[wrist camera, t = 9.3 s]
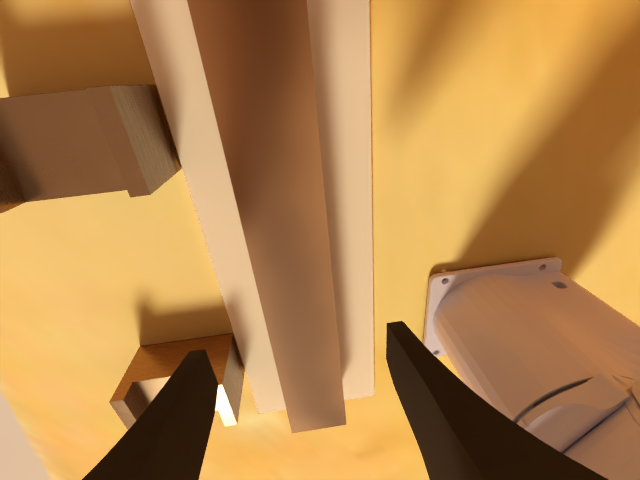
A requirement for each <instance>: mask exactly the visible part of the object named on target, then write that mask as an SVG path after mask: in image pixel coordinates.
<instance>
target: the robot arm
mask: <svg viewBox="0 0 640 480" xmlns="http://www.w3.org/2000/svg"><path fill="white" fill-rule="evenodd" d="M562 264H563V262H562V260H561V259H559V258H557V257H551V258H544V259H537V260H529V261H522V262H515V263H508V264H501V265H493V266H486V267H479V268H472V269H465V270H458V271H450V272H443V273H436V274H433V275H432V276H431V277H430V279H429V285H428V295H427V306H426V316H425V327H424V337H423V343H422V342H421V341H420V340H419V339H418V338H417V337H416V336H415V335H414V333H413V332H412V331H411V330H410V329H409V328H408V327H407V325H406V324H405V323H404V322H402V321H399V322H392V323H387V348H386V360H387V363H388V367H389V370H390V374H391V377H392V380H393V384H394V386H395V389H396V391H397V394H398V396H399V399H400V401H401V404H402V406H403V409H404V411H405V413H406V416H407V418H408V421H409V423H410V426H411V428H412V430H413V433H414V435H415V438H416V440H417V443H418V445H419V448H420V451H421V453H422V456H423V459H424V462H425V466H426V469H427V472H428V475H429V478H430V480H640V327H639V326H638V325H637V324H635V323H634V322H632V321H631V320H629V319H628V318H627V317H625V316H624V315H622V314H621V313H619V312H618V311H616V310H615V309H613V308H612V307H611V306H609V305H608V304H606V303H605V302H603V301H602V300H600V299H599V298H598V297H596V296H595V295H593V294H592V293H590V292H589V291H587V290H586V289H584V288H583V287H582V286H580V285H579V284H577V283H576V282H574V281H573V280H571V279H570V278H568V277H567V276H566V275H564V274H563V273H561V272H560V270H561V267H562ZM444 278H446V279H445V280H444V281H442V280H443V279H444ZM443 355H447V356H448V357H449V359H450V361H451V362H452V364H453V366H454V367H455V369H456V371H457V372H458V374H459V376H460V378H461V379H462V381H463V382H462V381H461V380H460V379H459V378H458V377H456V376H455V375H454V374H453V373H452V372H451V371H450V370H449V369H448V368H447V367H446V366H445V365H444V364H443V363H442V362H440V361H439V360H438V359H437V358H436V356H443ZM217 392H218V381H217V379H216V376H215V373H214V371H213V368H212V366H211V363H210V360H209V358H208V355H207V353H206V350H205V349H202V350H195V351H189V352H188V354H187V355H186V356H185V358H184V359H183V360H182V362H181V363H180V364H179V366H178V367H177V369H176V370H175V371H174V373H173V374H172V375H171V377H170V378H169V379H168V381H167V382H166V383H165V385H164V386H163V387H162V389H161V390H160V391H159V393H158V394H157V395H156V397H155V398H154V399H153V400H152V402H151V403H150V404H149V406H148V407H147V408H146V409H145V411H144V412H143V413H142V414H141V415H140V417H139V418H138V419H137V420H136V421H135V423H134V424H133V425H132V426H131V428H130V429H129V430H128V431H127V432H126V433H125V435H124V436H123V437H122V438H121V439H120V440H119V441H118V443H117V444H116V445H115V446H114V447H113V448H112V449H111V450H110V451H109V452H108V454H107V455H106V456H105V457H104V458H103V459H102V460H101V461H100V462H99V463H98V464H97V465H96V466H95V467H94V468H93V469H92V470H91V471H90V472H89V473H88V474H87V475H86V476H85V477H84V478H83V479H82V480H198V479H199V475H200V471H201V467H202V463H203V459H204V455H205V451H206V447H207V442H208V438H209V434H210V430H211V426H212V422H213V418H214V413H215V408H216V400H217Z"/></svg>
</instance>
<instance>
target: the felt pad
mask: <svg viewBox="0 0 640 480" xmlns="http://www.w3.org/2000/svg"><path fill="white" fill-rule="evenodd" d="M130 2H131V5H132V9H133V12H134V15H135V18H136V21H137V25H138V28H139V31H140V34H141V37H142V41H143V44H144V47H145V50H146V54H147V57H148V60H149V63H150V66H151V70H152V73H153V76H154V79H155V82H156V86H157V89H158V92H159V95H160V98H161V102H162V105H163V108H164V111H165V114H166V118H167V121H168V124H169V127H170V130H171V134H172V137H173V140H174V143H175V147H176V150H177V153H178V156H179V159H180V163H181V166H182V169H183V172H184V175H185V179H186V182H187V185H188V188H189V191H190V195H191V198H192V201H193V204H194V207H195V211H196V214H197V217H198V220H199V223H200V227H201V230H202V233H203V236H204V240H205V243H206V246H207V249H208V252H209V256H210V259H211V262H212V265H213V268H214V272H215V275H216V278H217V281H218V284H219V288H220V291H221V294H222V297H223V300H224V304H225V307H226V310H227V313H228V316H229V320H230V323H231V326H232V329H233V332H234V336H235V339H236V342H237V345H238V349H239V352H240V355H241V358H242V361H243V365H244V368H245V371H246V374H247V377H248V381H249V384H250V387H251V390H252V393H253V397H254V400H255V403H256V406H257V409H258V413H259V414H261V413H268V412H274V411H281V410H287V409H286V405H285V401H284V397H283V393H282V389H281V385H280V381H279V377H278V372H277V368H276V364H275V360H274V356H273V352H272V348H271V344H270V340H269V336H268V331H267V327H266V323H265V319H264V315H263V311H262V307H261V303H260V299H259V294H258V290H257V286H256V282H255V278H254V274H253V270H252V266H251V262H250V257H249V253H248V249H247V245H246V241H245V237H244V233H243V229H242V225H241V220H240V216H239V212H238V208H237V204H236V200H235V196H234V192H233V188H232V183H231V179H230V175H229V171H228V167H227V163H226V159H225V155H224V151H223V146H222V142H221V138H220V134H219V130H218V126H217V122H216V118H215V114H214V109H213V105H212V101H211V97H210V93H209V89H208V85H207V81H206V77H205V73H204V68H203V64H202V60H201V56H200V52H199V48H198V44H197V40H196V36H195V31H194V27H193V23H192V19H191V15H190V11H189V7H188V3H187V0H130ZM307 10H308V21H309V31H310V42H311V53H312V63H313V74H314V85H315V95H316V106H317V117H318V127H319V138H320V149H321V159H322V170H323V181H324V191H325V202H326V213H327V223H328V234H329V245H330V255H331V266H332V277H333V287H334V298H335V309H336V319H337V330H338V341H339V351H340V362H341V373H342V384H343V394H344V400H351V399H357V398H363V397H370V396H374V324H373V243H372V162H371V82H370V1H369V0H307Z"/></svg>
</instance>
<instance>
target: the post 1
mask: <svg viewBox="0 0 640 480" xmlns="http://www.w3.org/2000/svg"><path fill="white" fill-rule="evenodd" d="M180 169H181V166H180V163H179V160H178V156H177V153H176V150H175V147H174V144H173V141H172V137H171V134H170V131H169V128H168V125H167V121H166V118H165V115H164V112H163V109H162V105H161V102H160V99H159V96H158V93H157V90H156V86H155V85H112V86H100V87H90V88H85V89H84V90H75V91H65V92H55V93H46V94H36V95H26V96H17V97H7V98H0V213H3V212H5V211H8V210H10V209H12V208H14V207H16V206H18V205H21V204H23V203H25V202H30V201H39V200H47V199H56V198H64V197H72V196H81V195H89V194H97V193H106V192H114V191H122V190H128V193H129V195H130V197H136V196H144V195H151V194H152V193H153V192H154V191H155V190H157V189H158V188H159V187H160V186H161V185H163V184H164V183H165V182H166V181H167V180H169V179H170V178H171V177H172V176H173V175H174V174H176V173H177V172H178V171H179V170H180Z"/></svg>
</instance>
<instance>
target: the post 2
mask: <svg viewBox="0 0 640 480" xmlns="http://www.w3.org/2000/svg"><path fill="white" fill-rule="evenodd" d="M202 349H205V350H206V353H207V355H208V358H209V360H210V363H211V366H212V368H213V371H214V373H215V376H216V379H217V381H218V392H217V400H216V408H215V411H219V413H220V416H221V418H222V420H223V423H224V425H225V426H231V425H237V422H238V415H239V408H240V401H241V393H242V386H243V379H244V372H245V370H244V367H243V364H242V361H241V357H240V354H239V351H238V348H237V345H236V341H235V338H234V335H233V333H232V334H225V335H218V336H211V337H204V338H198V339H191V340H184V341H177V342H170V343H163V344H156V345H149V346H142V347H139V349H138V351H137V353H136V354H135V356H134V358H133V360H132V362H131V364H130V365H129V367H128V369H127V371H126V373H125V375H124V376H123V378H122V380H121V382H120V384H119V385H118V387H117V389H116V391H115V393H114V395H113V396H112V398H111V400H110V402H109V403H110V404H111V405H112V407H113V408H114V410H115V411H116V413H117V414H118V416H119V417H120V419H121V420H122V422H123V423H124V425H125V426H126V428H127V429H128V430H129V429H130V428H131V426H132V425H133V424H134V423H135V421H136V420H137V419H138V418H139V417H140V415H141V414H142V413H143V412H144V411H145V409H146V408H147V407H148V406H149V404H150V403H151V402H152V400H153V399H154V398H155V397H156V395H157V394H158V393H159V391H160V390H161V389H162V387H163V386H164V385H165V383H166V382H167V381H168V379H169V378H170V377H171V375H172V374H173V373H174V371H175V370H176V369H177V367H178V366H179V364H180V363H181V362H182V360H183V359H184V358H185V356H186V355H187V354H188V352H189V351H195V350H202Z"/></svg>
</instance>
